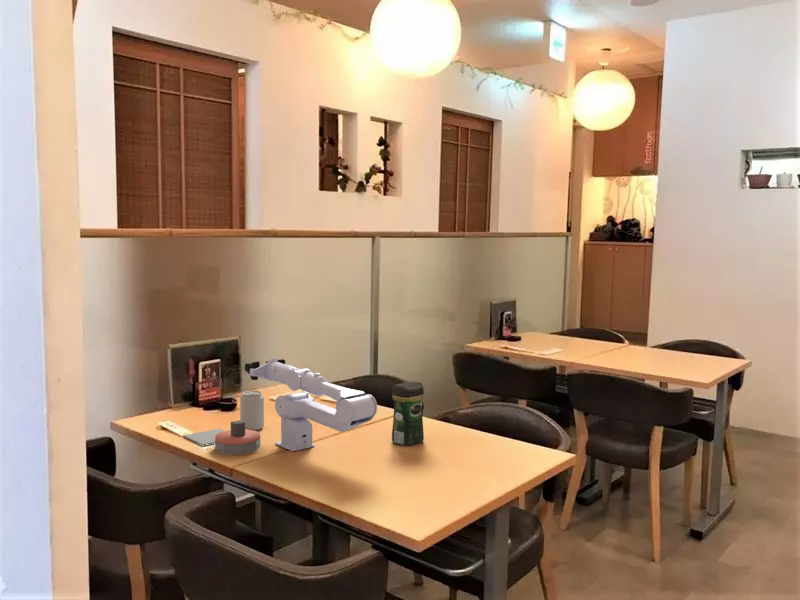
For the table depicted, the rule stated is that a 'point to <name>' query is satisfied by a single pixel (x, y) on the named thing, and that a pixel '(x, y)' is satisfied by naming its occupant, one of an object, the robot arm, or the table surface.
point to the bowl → (237, 448)
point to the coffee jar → (407, 413)
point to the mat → (204, 436)
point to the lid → (237, 435)
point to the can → (252, 410)
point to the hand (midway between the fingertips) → (256, 365)
